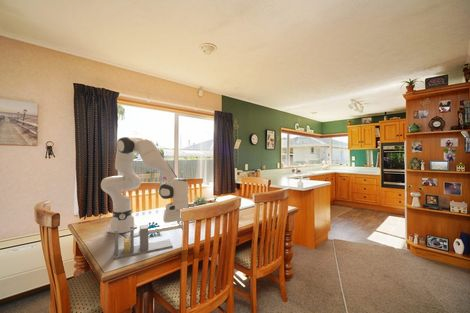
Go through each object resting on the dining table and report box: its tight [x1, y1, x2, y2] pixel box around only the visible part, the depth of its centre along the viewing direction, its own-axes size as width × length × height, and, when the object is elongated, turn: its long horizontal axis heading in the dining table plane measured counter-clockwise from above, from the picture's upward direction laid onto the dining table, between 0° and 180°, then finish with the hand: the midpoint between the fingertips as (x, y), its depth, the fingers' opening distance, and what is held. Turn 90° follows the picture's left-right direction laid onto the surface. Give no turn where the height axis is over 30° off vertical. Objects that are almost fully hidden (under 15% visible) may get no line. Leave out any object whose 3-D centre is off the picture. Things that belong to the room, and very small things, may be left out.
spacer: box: [123, 236, 130, 254], centre depth 117 cm, size 6×3×6 cm, turn 28°
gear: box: [146, 221, 160, 238], centre depth 144 cm, size 11×6×10 cm
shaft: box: [138, 221, 183, 236], centre depth 126 cm, size 8×28×6 cm, turn 118°
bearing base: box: [113, 224, 174, 260], centre depth 121 cm, size 10×30×14 cm, turn 118°
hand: (181, 227), depth 128 cm, fingers closed
